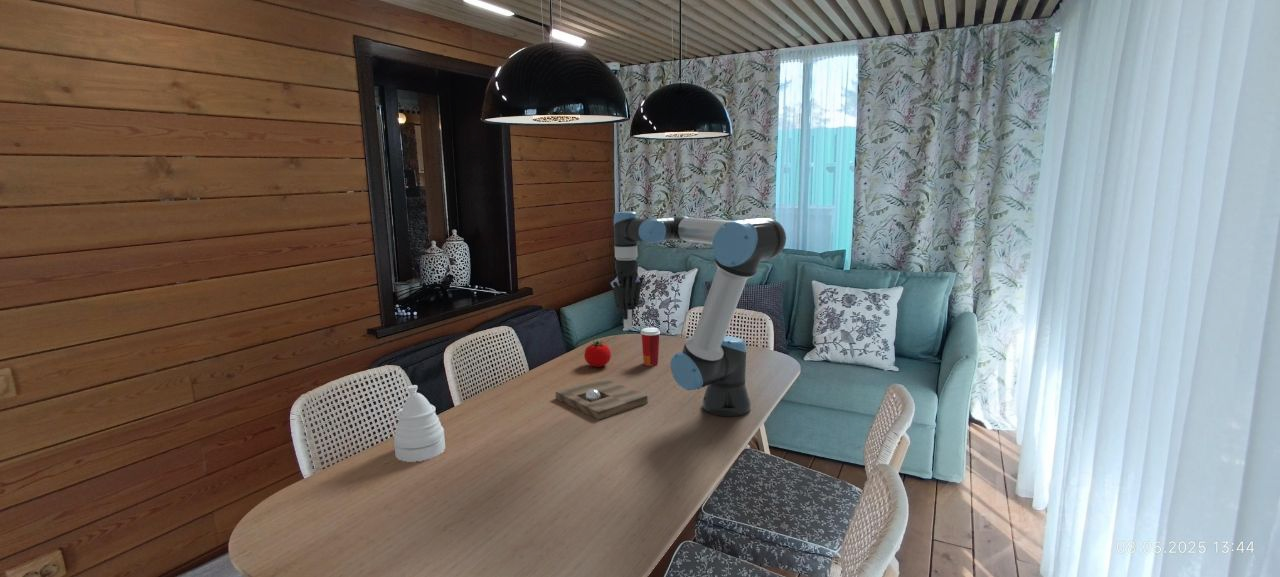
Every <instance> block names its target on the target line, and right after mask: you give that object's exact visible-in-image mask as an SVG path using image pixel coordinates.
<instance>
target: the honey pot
mask: <svg viewBox="0 0 1280 577" xmlns="http://www.w3.org/2000/svg"><path fill="white" fill-rule="evenodd" d="M417 391H418V385H417V384H414V385H413V384H411V385H408V386H407V392H409V393H410V394H411V395H409V396H408V398H407V399H406V400H405V403H404V405H403V406H402V407H401V408H400V409H398V410H397V411H396V414H395V415H396V417H397V418H398V422H397V423H396V429H395V433H394V436H393V441H394V442H393V444H394V454H395V458H396V459H397V458H398V459H397V460H399V461H401V460H402V461H401V462H405V461H406V462H405V463H416V461H418V462H424V461H427V459H428V460H431V459H433V457H434V458H435V456H436V457H438V456H439V454H440V453H441V454H443V452H444V451H445V450H446V442H445V440H446V439H445V438H446V437H445V429H444V427H443V426H442V422H441V421H440V418H439V416H438V415H437V413H436V406H434V405H433V404H431V403H430V402H429V400H428V398H426V397H425V396H424V395H423V394H422V393H420V392H417ZM444 449H445V450H444ZM441 454H440V455H441ZM437 455H438V456H437ZM423 460H424V461H423Z"/></svg>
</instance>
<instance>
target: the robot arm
mask: <svg viewBox="0 0 1280 577" xmlns="http://www.w3.org/2000/svg"><path fill="white" fill-rule="evenodd" d="M612 225H613V235H614V238H613V239H614V258H615V261H614V266H615V267H614V269H615V272H616V273H615V279H613V280H611V281H609V285H610V286H611V288H612V291H613V292H612V293H613V297H614V301H615V306H616V308H617V309H620V310H621V318H622V320H623V328H624V329H627V330H631V329H633V319H634V310H636V307H638V306H639V301H640V295H641V288H642V284H643V283H644V278H643V277H640V276H639V274H638V272H637V271H638V270H639V267H638V266H639V263H638V262H639V261H638V259H637V258H638V257H639V256H638V243H644V244H648V245H652V244H660V243H661V242H665V241H681V242H682V241H686V242H694V243H701V244H711V248H712V249H713V252H712V253H713V256H714V264H715V266H716V267H717V268H716V272H715V273H714V277H713V280H712V281H711V282H712V283H711V284H710V285H711V286H710V288H709V291H708V294H707V297H706V300H705V301H704V305H703V308H702V310H701V314H700V317H699V319H698V322H697V325H696V327H695V330H694V333H693V335H692V336H689V337H688V338H687V339H686V340H685V343H684V346H683V348H682V351H681V352H680V351H679V352H676V353H675V354H673V356H672V357H671V360H670V372H671V374H672V377H673V378H674V381H675V382H676V384H677V385H678V386H679V387H681V388H682V389H683V390H686V391H696V390H700V389H701V388H705V387H706V389H705V392H704V396H703V397H702V398H703V399H702V408H703V410H704V411H705V412H706V413H709V414H712V415H714V416H720V417H738V416H743V415H745V414H747V413H749V412H750V411H751V405H752V404H751V398H750V397H749V393H748V390H747V385H746V370H747V368H746V367H747V365H746V364H747V347H746V346H747V343H746V342H745V341H744V339H742V338H739V337H736V336H730V335H727V332H728V329H729V327H730V324H731V322H732V319H733V316H734V314H735V312H736V308H737V306H738V303H739V302H740V299H741V296H742V294H743V291H744V289H745V285H746V284H747V281H748V279H750V278H753V277H755V275H756V273H757V271H758V268H759V265H760V263H761V262H764V261H768V260H769V261H770V260H772V259H774V258H776V257H777V256H779V255H780V254H781V253H782V251H783V250H784V248H785V246H786V242H787V235H786V234H787V233H786V231H785V229H784V226H782V224H781V222H779V221H777V220H775V219H773V218H769V217H759V218H749V219H741V218H740V219H734V220H727V219H726V220H724V219H711V218H709V219H708V218H699V217H698V218H697V217H688V216H686V215H684V216H683V215H676V216H669V217H654V218H653V217H651V218H638V216H637V212H636V211H617V212H615V213H614V215H613V224H612Z"/></svg>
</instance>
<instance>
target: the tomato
mask: <svg viewBox="0 0 1280 577" xmlns="http://www.w3.org/2000/svg"><path fill="white" fill-rule="evenodd" d="M611 352H612V351H611V349H610V347H609V346H608V345H606V344H605V343H603V340H601V341H595V340H592V343H590V345H588V346H586V348H585V351H584V356H583V357H584V360H585V362H586V364H588V365H590V366H592V367H595V368H601V367H604V366H606V365H607V364H608V363H609V362H610V360H611V358H612V353H611Z"/></svg>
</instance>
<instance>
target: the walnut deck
mask: <svg viewBox="0 0 1280 577" xmlns="http://www.w3.org/2000/svg"><path fill="white" fill-rule="evenodd" d="M590 389H596V390H598V391H599V393H600V395H601V398H600V400H597V401H593V402H589V401H587V400H586V399H585V395H586V393H587V391H588V390H590ZM555 399H556V400H558V401H560V402H562V403H564V404H566V405H568V406H570V407H572V408H574V409H576V410H578V411H580V412H582V413H584V414H586V415H588V416H589V417H592V418H593V419H596V420H597V421H599V420H602V419H605V418H608V417H610V416H611V417H612V416H614V415H617V414H619V413H622V412H625V411H628V410H631V409H635V408H637V407H641V406H643V405H646V404H648V395H647V394H644V393H642V392H640V391H639V392H638V391H637V390H635V389H632V388H630V387H628V386H624V385H622V384H620V383H617V382H614V381H612V380H609V379H607V378H605V377H601V378H598V379H594V380H591V381H587V382H584V383H579V384H576V385H574V386H569V387H567V388H564V389H559V390H556V391H555Z"/></svg>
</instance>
